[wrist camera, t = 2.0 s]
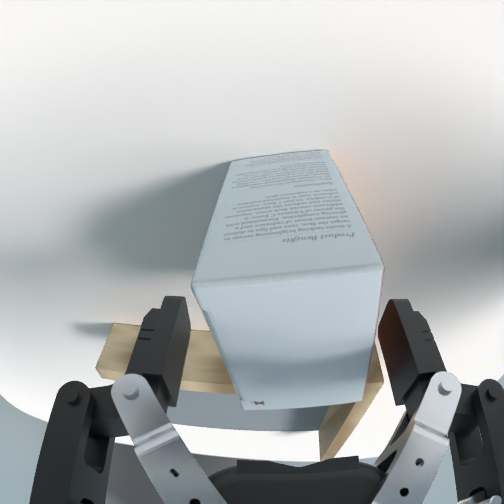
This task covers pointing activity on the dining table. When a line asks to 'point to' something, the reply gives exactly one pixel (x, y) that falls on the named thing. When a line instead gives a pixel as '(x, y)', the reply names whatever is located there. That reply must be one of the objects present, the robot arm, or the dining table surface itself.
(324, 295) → the small box
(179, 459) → the robot arm
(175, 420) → the mat
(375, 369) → the corner walls
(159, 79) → the dining table surface
